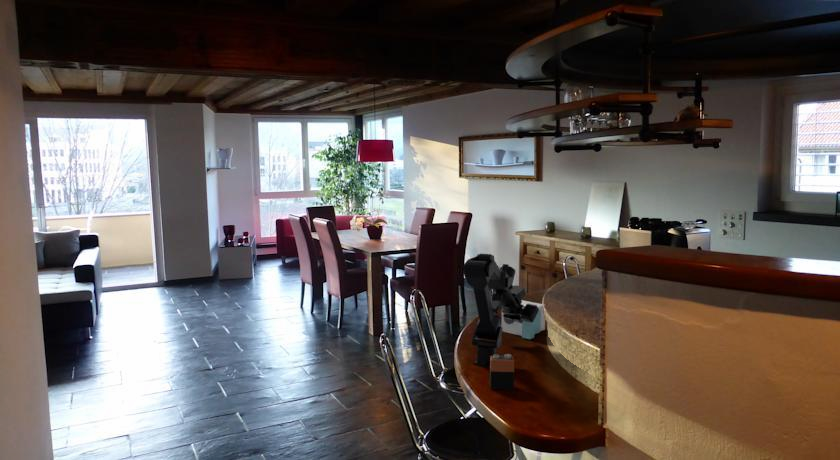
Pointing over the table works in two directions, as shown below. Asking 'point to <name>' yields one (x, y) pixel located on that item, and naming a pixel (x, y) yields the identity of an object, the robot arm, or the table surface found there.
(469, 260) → the robot arm
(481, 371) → the table surface
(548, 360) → the table surface
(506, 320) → the camera body
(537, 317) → the side door
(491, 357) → the battery
